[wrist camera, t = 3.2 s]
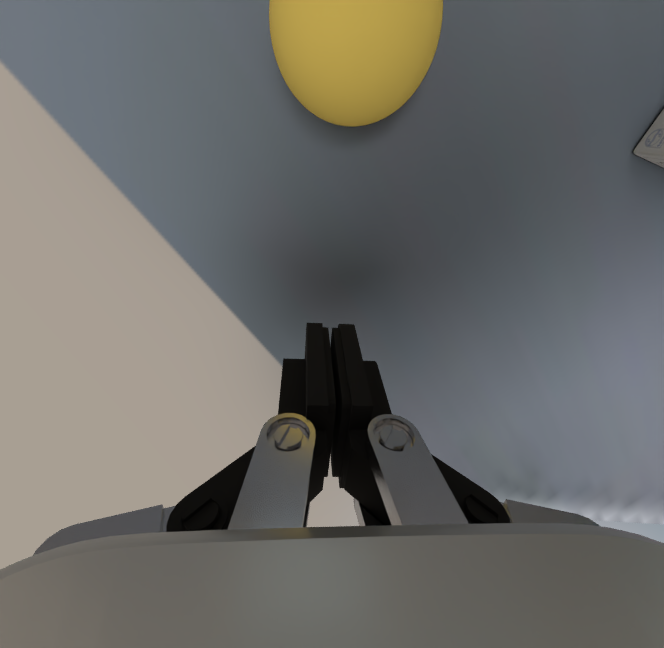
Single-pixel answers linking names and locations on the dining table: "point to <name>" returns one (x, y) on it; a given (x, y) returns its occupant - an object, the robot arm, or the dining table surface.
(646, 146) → the light bulb box
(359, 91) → the ball
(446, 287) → the dining table surface
